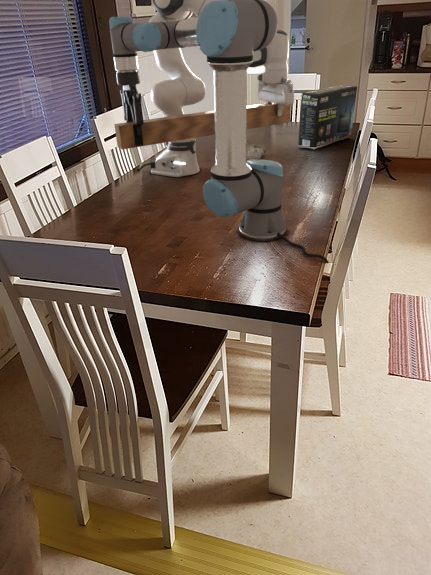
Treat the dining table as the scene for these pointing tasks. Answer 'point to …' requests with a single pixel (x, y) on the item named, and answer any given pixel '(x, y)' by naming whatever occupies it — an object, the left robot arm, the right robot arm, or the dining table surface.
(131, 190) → the dining table surface
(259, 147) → the fossil
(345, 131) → the router box
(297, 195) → the dining table surface
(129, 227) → the dining table surface
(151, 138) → the bar
